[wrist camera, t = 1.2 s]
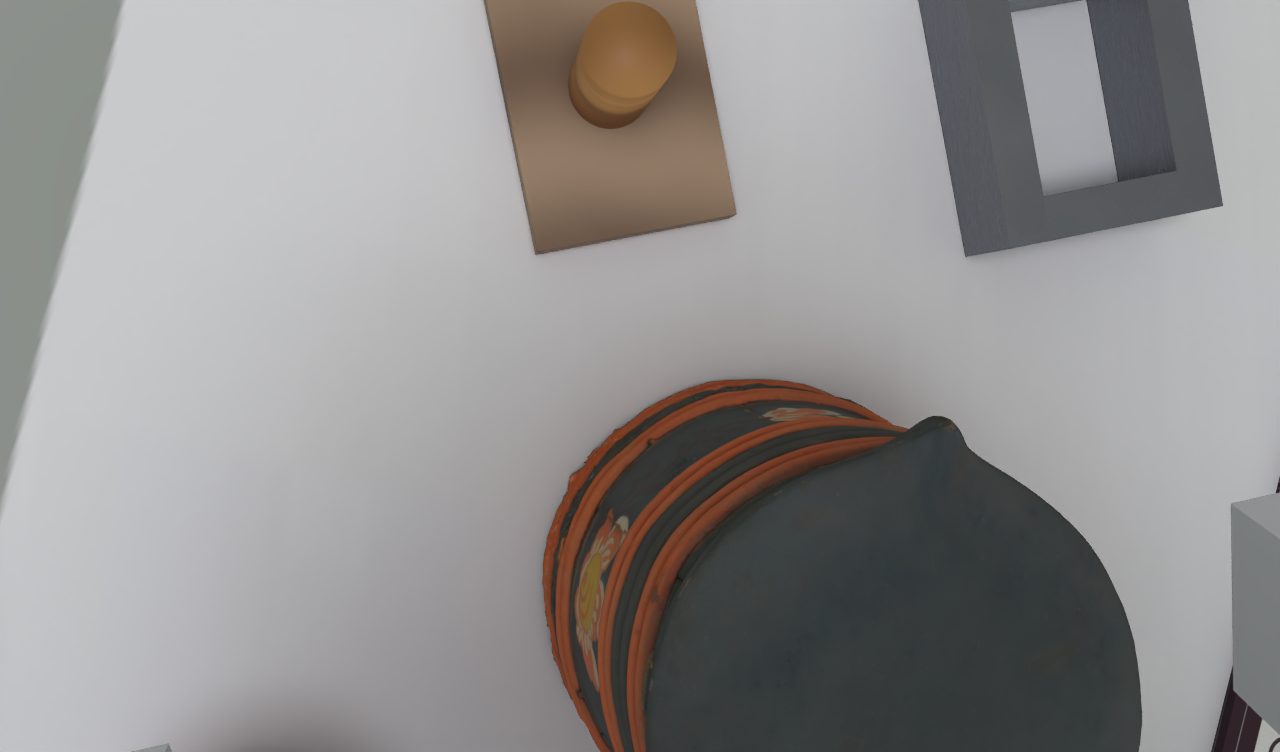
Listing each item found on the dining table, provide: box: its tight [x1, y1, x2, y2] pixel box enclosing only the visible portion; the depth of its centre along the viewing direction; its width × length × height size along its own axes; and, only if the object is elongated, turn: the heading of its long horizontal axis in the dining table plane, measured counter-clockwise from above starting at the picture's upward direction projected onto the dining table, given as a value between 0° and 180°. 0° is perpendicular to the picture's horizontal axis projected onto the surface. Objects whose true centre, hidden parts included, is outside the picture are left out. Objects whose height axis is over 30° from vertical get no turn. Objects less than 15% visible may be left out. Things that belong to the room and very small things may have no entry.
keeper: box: [484, 0, 736, 255], centre depth 37 cm, size 10×7×6 cm
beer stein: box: [543, 380, 1142, 752], centre depth 31 cm, size 19×15×20 cm
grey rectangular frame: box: [919, 0, 1223, 257], centre depth 41 cm, size 10×8×4 cm
